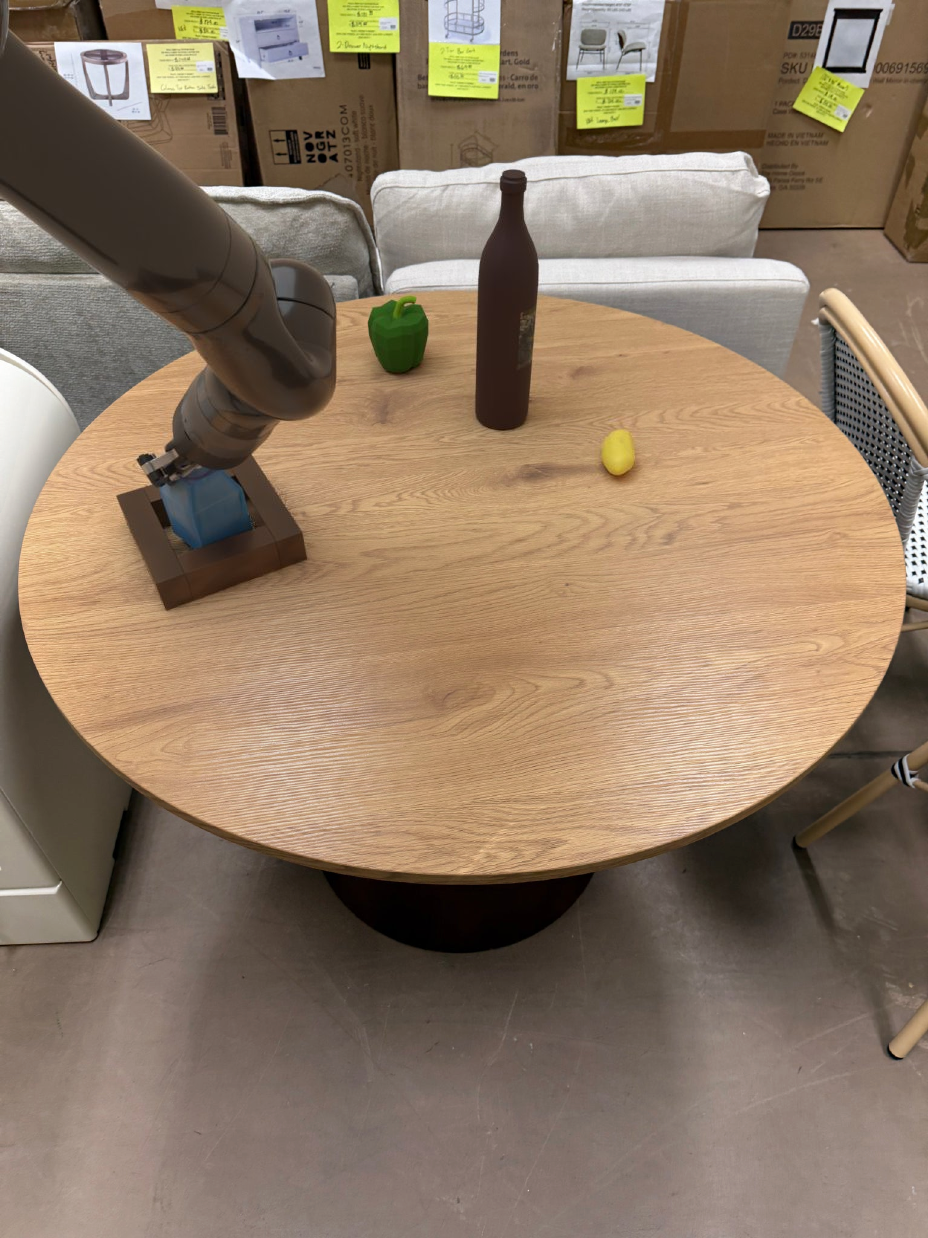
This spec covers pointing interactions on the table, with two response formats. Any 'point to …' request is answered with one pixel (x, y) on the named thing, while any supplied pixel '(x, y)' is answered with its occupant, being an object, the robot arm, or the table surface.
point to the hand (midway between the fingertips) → (185, 466)
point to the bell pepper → (398, 334)
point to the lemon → (618, 452)
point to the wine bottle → (506, 312)
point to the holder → (220, 560)
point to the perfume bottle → (206, 507)
